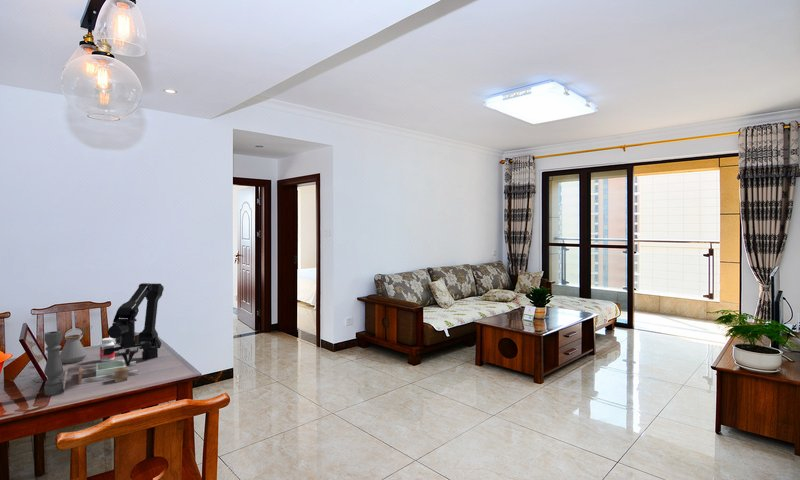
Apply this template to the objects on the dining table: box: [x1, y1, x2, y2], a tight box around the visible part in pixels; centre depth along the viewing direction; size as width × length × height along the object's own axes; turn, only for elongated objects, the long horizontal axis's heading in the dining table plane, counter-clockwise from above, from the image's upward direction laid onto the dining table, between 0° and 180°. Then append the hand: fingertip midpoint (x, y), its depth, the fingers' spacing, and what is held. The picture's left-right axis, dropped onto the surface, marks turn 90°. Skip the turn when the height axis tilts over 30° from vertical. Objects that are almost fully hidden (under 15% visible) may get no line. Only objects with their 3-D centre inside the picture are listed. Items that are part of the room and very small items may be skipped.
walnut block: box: [114, 367, 128, 383], centre depth 186 cm, size 4×4×6 cm
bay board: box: [78, 360, 140, 385], centre depth 194 cm, size 22×16×4 cm
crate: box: [95, 359, 126, 377], centre depth 194 cm, size 11×12×4 cm
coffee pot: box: [59, 325, 93, 364], centre depth 220 cm, size 21×12×15 cm, turn 8°
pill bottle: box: [99, 337, 116, 363], centre depth 217 cm, size 6×6×11 cm
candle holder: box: [43, 330, 65, 397], centre depth 174 cm, size 6×6×25 cm
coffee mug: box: [114, 331, 140, 355], centre depth 231 cm, size 12×9×10 cm
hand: (127, 365), depth 198 cm, fingers closed
